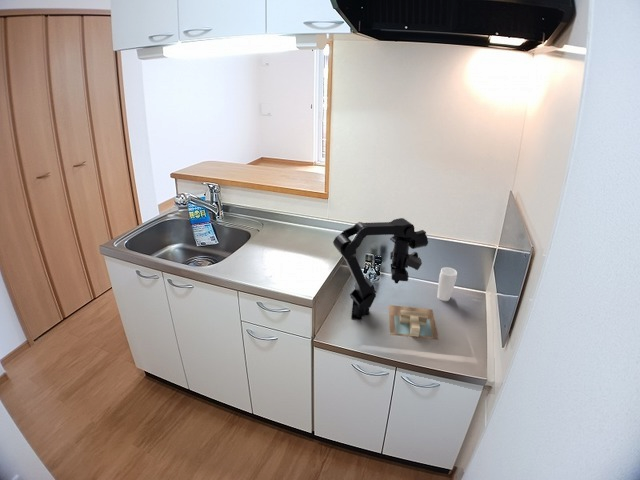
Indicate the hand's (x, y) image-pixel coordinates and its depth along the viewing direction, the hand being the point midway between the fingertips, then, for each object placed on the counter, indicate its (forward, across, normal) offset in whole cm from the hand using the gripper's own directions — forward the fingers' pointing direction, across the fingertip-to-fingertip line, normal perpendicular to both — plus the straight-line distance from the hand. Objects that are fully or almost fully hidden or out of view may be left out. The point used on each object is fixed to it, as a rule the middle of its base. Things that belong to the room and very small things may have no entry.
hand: (396, 282), depth 148 cm
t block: (+10, -14, -7) cm, 19 cm away
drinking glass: (+12, +8, -22) cm, 26 cm away
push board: (+12, -10, -7) cm, 17 cm away
